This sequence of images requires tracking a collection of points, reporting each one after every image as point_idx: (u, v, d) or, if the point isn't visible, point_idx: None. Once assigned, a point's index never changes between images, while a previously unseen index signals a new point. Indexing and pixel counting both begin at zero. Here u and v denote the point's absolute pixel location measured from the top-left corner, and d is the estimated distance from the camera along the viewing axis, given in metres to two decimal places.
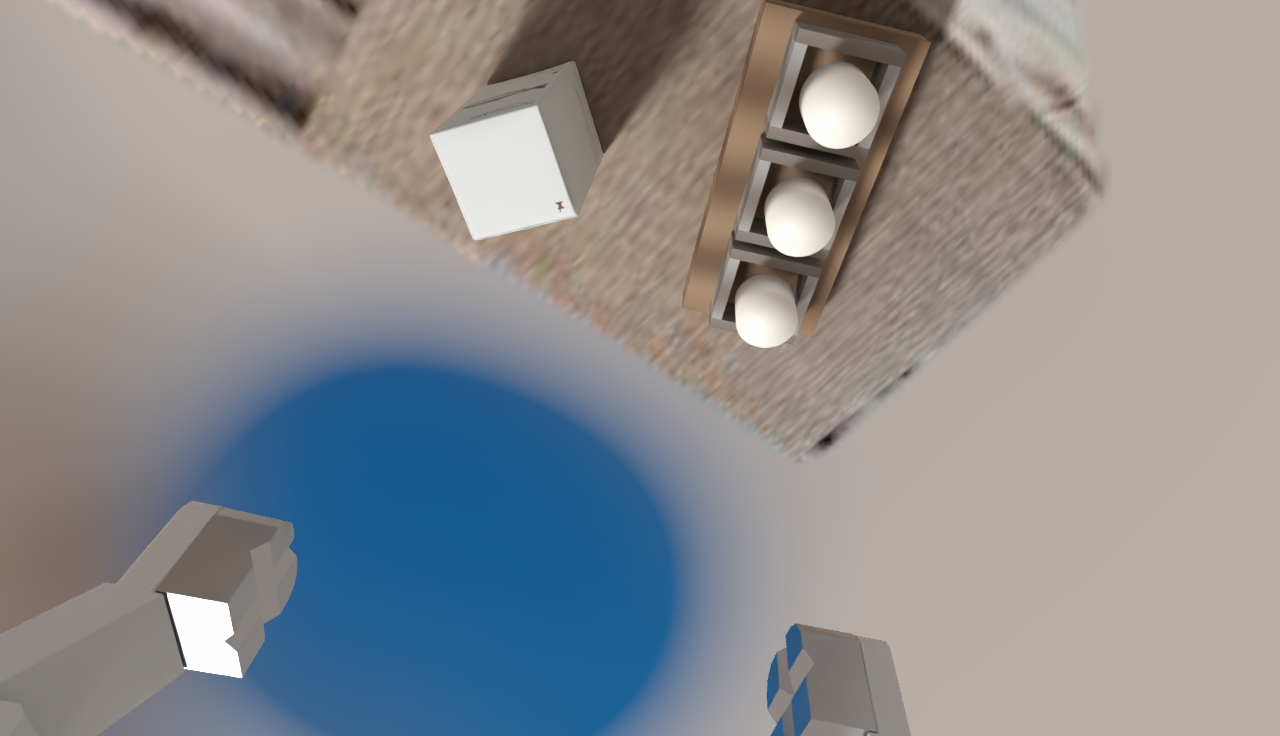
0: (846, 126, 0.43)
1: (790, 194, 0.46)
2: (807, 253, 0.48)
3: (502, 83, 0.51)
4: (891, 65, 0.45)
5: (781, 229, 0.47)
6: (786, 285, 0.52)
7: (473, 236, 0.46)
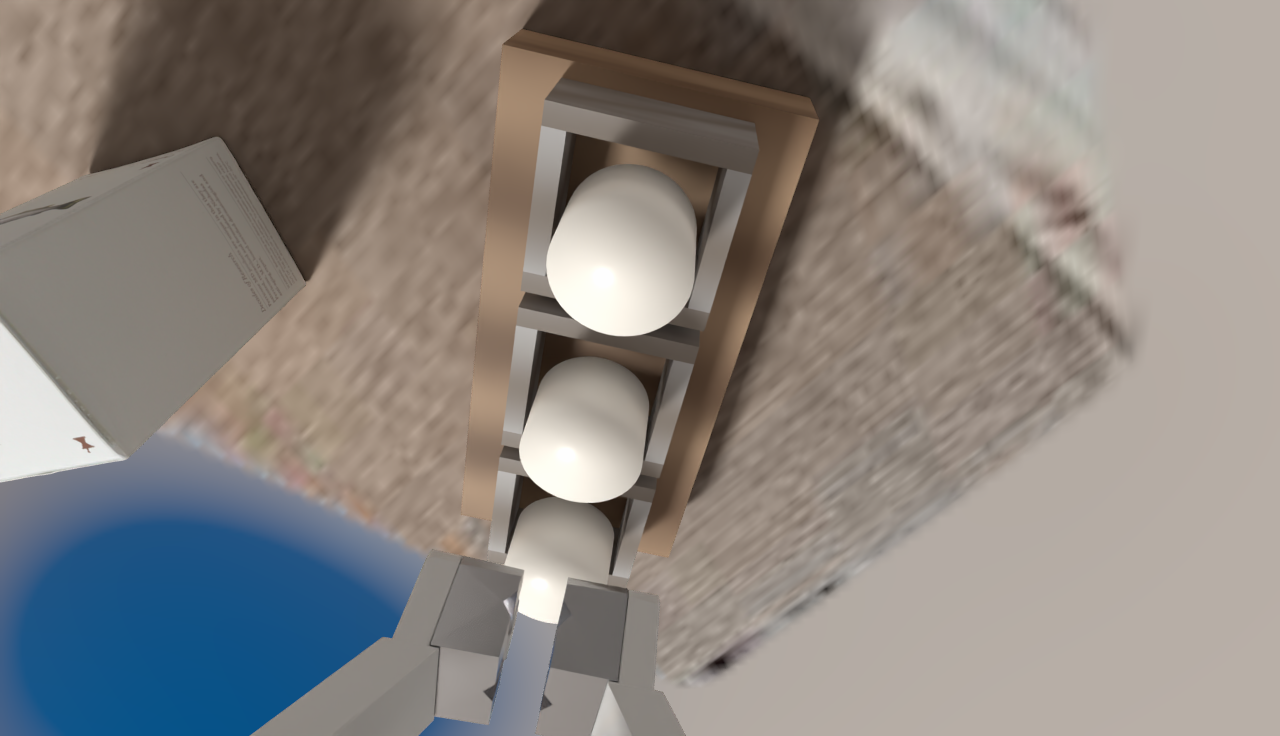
0: (634, 298, 0.22)
1: (554, 405, 0.25)
2: (601, 498, 0.26)
3: (92, 176, 0.29)
4: (733, 169, 0.23)
5: (546, 462, 0.26)
6: (593, 519, 0.31)
7: None
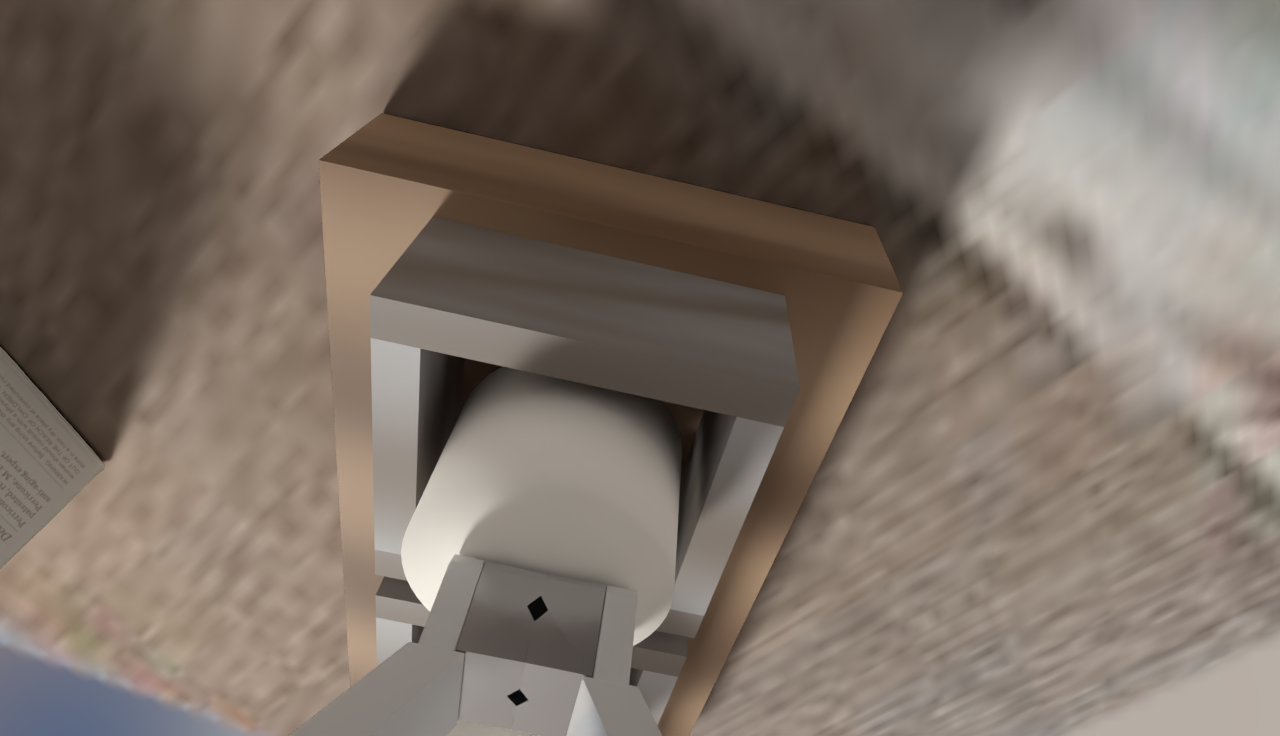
0: None
1: None
2: None
3: None
4: (748, 418, 0.12)
5: None
6: None
7: None
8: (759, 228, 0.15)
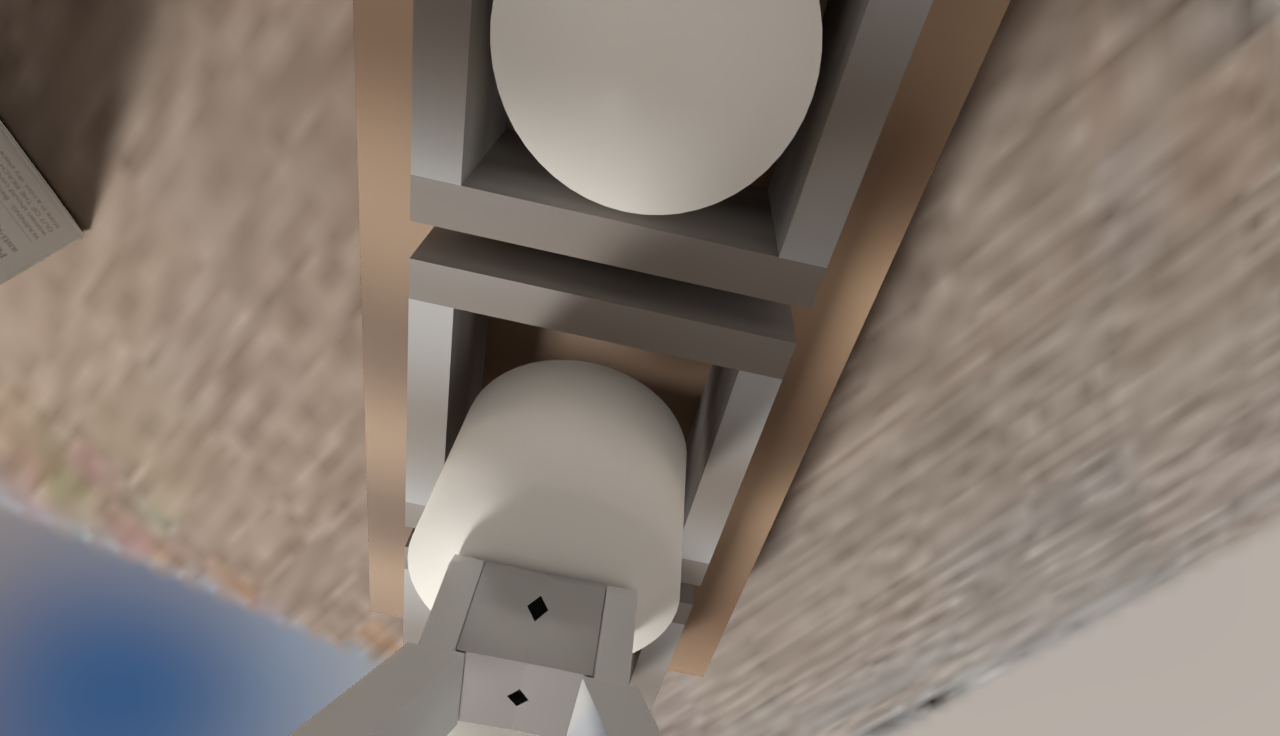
0: (681, 123, 0.10)
1: (480, 474, 0.11)
2: None
3: None
4: None
5: None
6: None
7: None
8: None
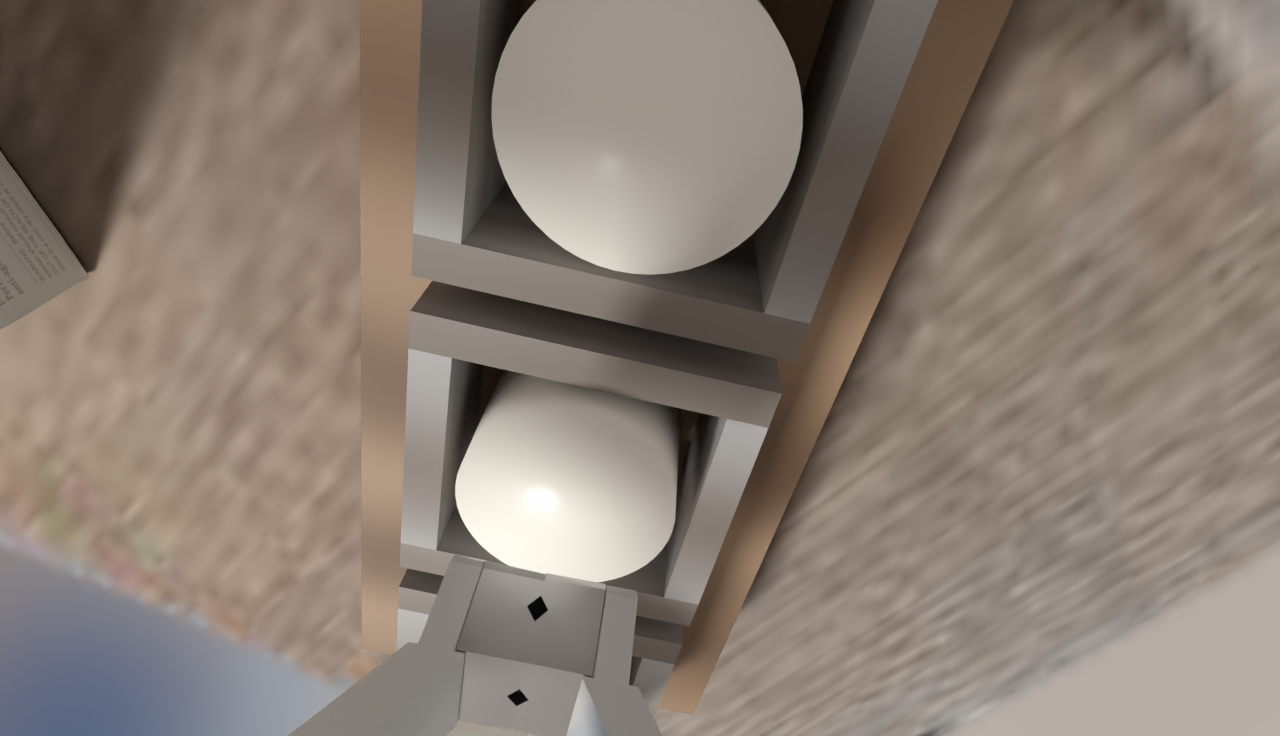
0: (671, 191, 0.11)
1: (518, 413, 0.13)
2: (600, 576, 0.15)
3: None
4: None
5: (504, 515, 0.14)
6: None
7: None
8: None
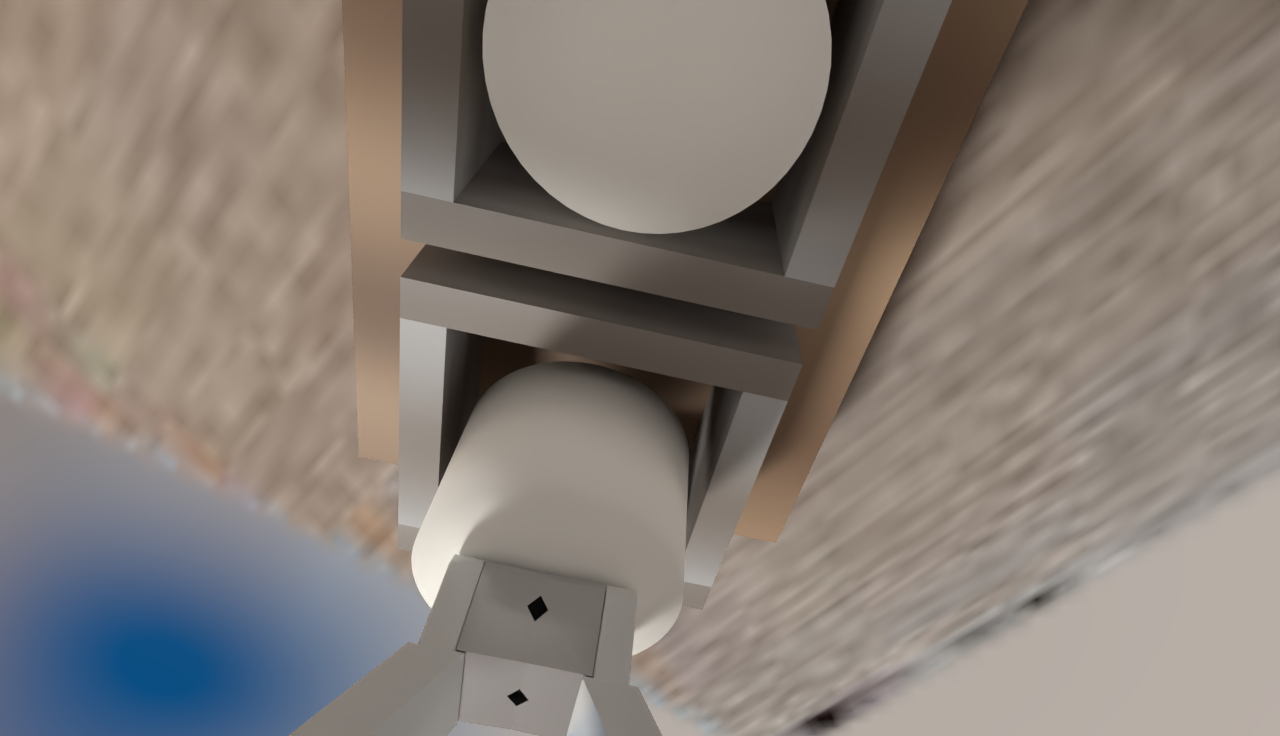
0: None
1: None
2: (700, 217, 0.10)
3: None
4: None
5: (558, 95, 0.09)
6: (647, 412, 0.13)
7: None
8: None
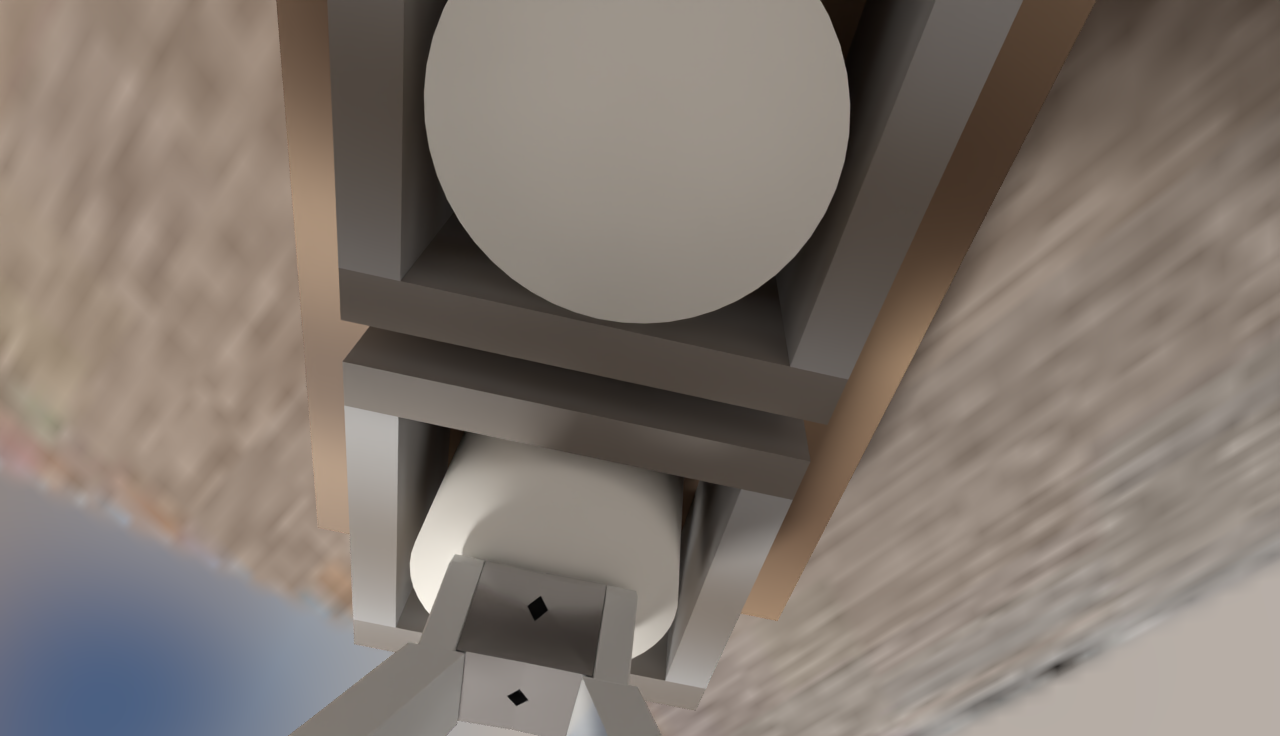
0: None
1: None
2: (690, 305, 0.09)
3: None
4: None
5: (518, 166, 0.08)
6: None
7: None
8: None
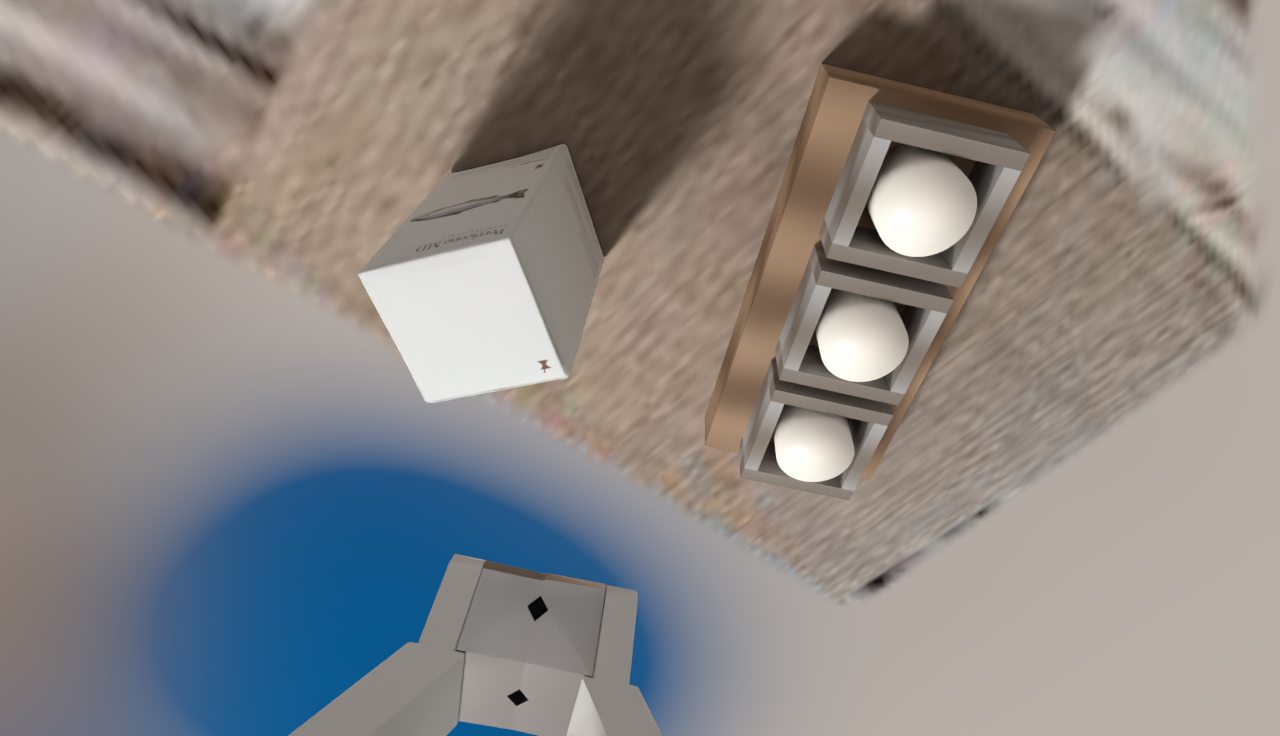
0: (930, 230, 0.33)
1: (852, 309, 0.36)
2: (870, 378, 0.38)
3: (470, 174, 0.39)
4: (1008, 167, 0.32)
5: (838, 351, 0.37)
6: None
7: (425, 398, 0.34)
8: (991, 109, 0.35)
